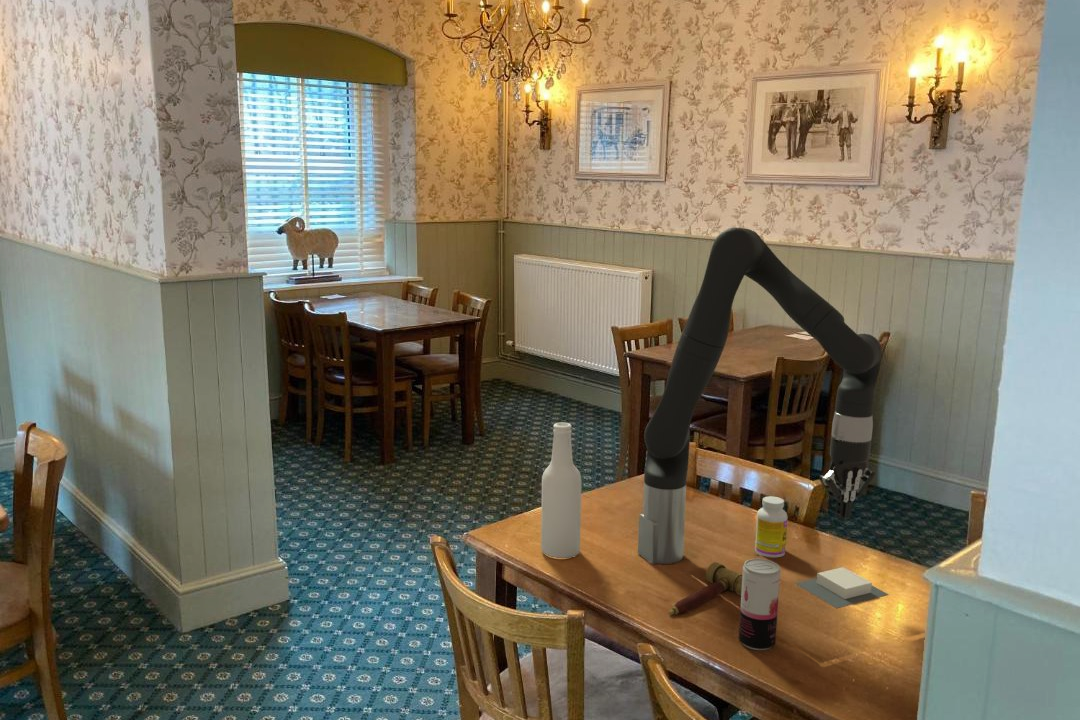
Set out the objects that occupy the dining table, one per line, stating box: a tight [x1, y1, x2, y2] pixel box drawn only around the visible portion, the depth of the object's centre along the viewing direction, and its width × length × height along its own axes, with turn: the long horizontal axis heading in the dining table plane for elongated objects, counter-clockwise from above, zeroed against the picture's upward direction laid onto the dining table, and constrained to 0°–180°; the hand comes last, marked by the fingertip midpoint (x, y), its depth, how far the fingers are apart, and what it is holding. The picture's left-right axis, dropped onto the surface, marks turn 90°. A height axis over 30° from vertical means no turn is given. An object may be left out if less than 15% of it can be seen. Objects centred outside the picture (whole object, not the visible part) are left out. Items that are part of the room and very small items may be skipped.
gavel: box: [668, 561, 743, 616], centre depth 178 cm, size 21×5×10 cm
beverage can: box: [738, 558, 781, 651], centre depth 161 cm, size 7×7×15 cm
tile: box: [816, 567, 873, 599], centre depth 183 cm, size 2×8×7 cm
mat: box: [794, 577, 890, 609], centre depth 183 cm, size 14×12×1 cm
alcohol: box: [540, 421, 582, 558], centre depth 197 cm, size 9×9×30 cm
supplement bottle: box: [754, 495, 788, 558], centre depth 199 cm, size 7×7×13 cm
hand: (843, 517), depth 179 cm, fingers closed
